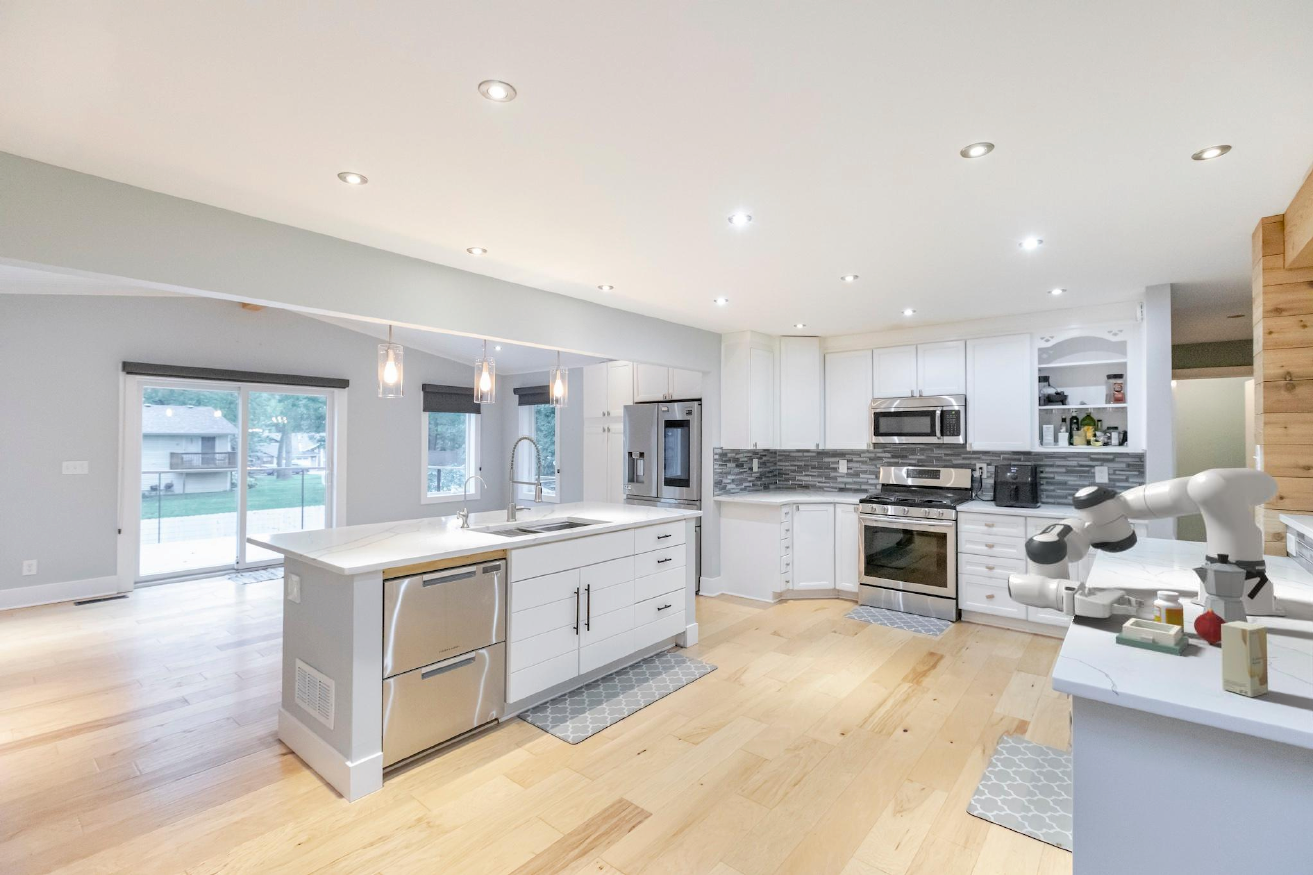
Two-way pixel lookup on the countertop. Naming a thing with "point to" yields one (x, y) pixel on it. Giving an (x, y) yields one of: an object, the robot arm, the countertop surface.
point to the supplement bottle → (1169, 609)
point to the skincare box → (1244, 658)
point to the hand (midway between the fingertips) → (1140, 607)
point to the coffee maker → (1228, 588)
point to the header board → (1153, 636)
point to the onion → (1209, 626)
